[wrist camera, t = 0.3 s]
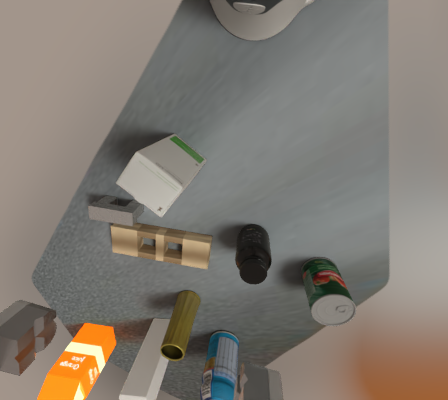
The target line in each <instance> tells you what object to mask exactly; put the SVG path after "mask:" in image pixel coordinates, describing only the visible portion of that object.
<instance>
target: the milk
mask: <svg viewBox="0 0 448 400" xmlns="http://www.w3.org/2000/svg"><path fill="white" fill-rule="evenodd" d="M169 322H170V319H159V318H154V319H153V321H152V324H151V326H150V328H149V330H148V332H147V335H146V337H145V339H144V341H143V344H142V346H141V348H140V350H139V352H138V355H137V357H136V359H135V361H134V364H133V366H132V368H131V370H130V373H129V375H128V377H127V379H126V381H125V384H124V386H123V388H122V390H121V393H120V395H119V400H156V398H157V395H158V392H159V389H160V386H161V383H162V379H163V376H164V373H165V370H166V367H167V364H168V361H169V360H168V359H166V358H165V357H163V356H162V355H161V353H160V348H161V345H162V342H163V339H164V336H165V334H166V331H167V328H168V325H169Z"/></svg>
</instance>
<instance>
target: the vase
mask: <svg viewBox="0 0 448 400" xmlns="http://www.w3.org/2000/svg"><path fill="white" fill-rule="evenodd" d="M199 305H200V298H199V296H198V295H197V294H196V293H194V292H192V291H183V292H181V293H179V295H178V297H177V301H176V305H175V307H174V310H173V313H172V316H171V319H170V322H169V325H168V328H167V331H166V334H165V336H164V339H163V342H162V345H161V348H160V353H161V355H162V356H163V357H165V358H166V359H168V360H171V361H179V360H181V359H183V357H184V355H185V352H186V348H187V344H188V340H189V337H190V333H191V329H192V325H193V322H194V319H195V316H196V312H197V310H198V307H199Z"/></svg>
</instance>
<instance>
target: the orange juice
mask: <svg viewBox="0 0 448 400" xmlns="http://www.w3.org/2000/svg"><path fill="white" fill-rule="evenodd" d="M115 345H116V341H115V336H114V330H113V327H109V326H102V325H96V324H89V323H85V324H84V325H83V327H82V328H81V329H80V331H79V332H78V333H77V335H76V336H75V337H74V339H73V340H72V341H71V343H70V344H69V345H68V347H67V348H66V349H65V351H64V352H63V354H62V355H61V357H60V358H59V359H58V360H57V362H56V363H55V365H54V366H53V367H52V369H51V370H50V371H49V373H48V374H47V377H46V379H45V382H44V384H43V386H42V389H41V392H40V394H39V396H38V399H37V400H85V399H86V397H87V396H88V394H89V392H90V390H91V388H92V387H93V385H94V383H95V381H96V379H97V377H98V376H99V374H100V373H101V371H102V369H103V367H104V365H105V363H106V361H107V359H108V358H109V356H110V354H111V352H112V350H113V349H114V347H115Z"/></svg>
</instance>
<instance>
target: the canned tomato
mask: <svg viewBox="0 0 448 400" xmlns="http://www.w3.org/2000/svg"><path fill="white" fill-rule="evenodd" d="M301 276H302V279H303V283H304V286H305V290H306V294H307V298H308V301H309V306H310V309H311V314H312V316H313V318H314V319H315V320H316V321H317V322H319V323H321V324H323V325H327V326H338V325H343V324H345V323H347V322H349V321H350V320H351V319H352V318H353V317H354V316H355V314H356V306H355V304H354V302H353V300H352V298H351V296H350V294H349V292H348V290H347V287H346V285H345V284H344V281H343V279H342V277H341V275H340V273H339V271H338V269H337V266H336V264H335V263H334V262H333V261H331V260H330V259H327V258H323V257H317V258H313V259H310V260H308V261H307V262H305V263H304V265H303V266H302V268H301Z"/></svg>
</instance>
